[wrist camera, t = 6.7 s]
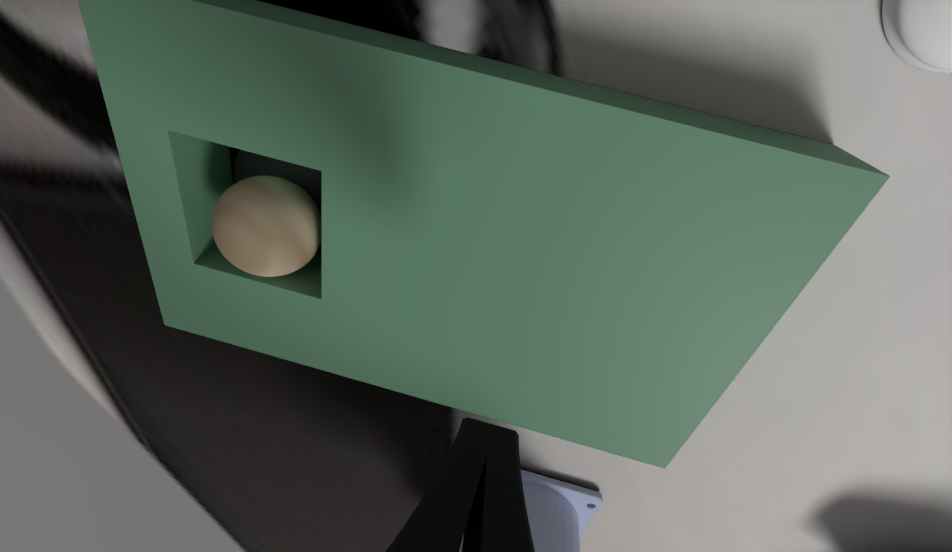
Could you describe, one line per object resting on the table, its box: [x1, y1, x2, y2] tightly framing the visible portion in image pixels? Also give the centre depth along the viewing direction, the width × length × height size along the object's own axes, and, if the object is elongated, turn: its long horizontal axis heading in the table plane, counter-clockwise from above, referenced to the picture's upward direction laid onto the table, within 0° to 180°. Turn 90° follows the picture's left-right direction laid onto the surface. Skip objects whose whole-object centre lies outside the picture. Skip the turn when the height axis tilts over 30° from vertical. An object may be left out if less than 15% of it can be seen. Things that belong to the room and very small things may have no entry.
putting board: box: [78, 0, 890, 468], centre depth 18 cm, size 24×14×3 cm, turn 79°
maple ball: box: [212, 176, 322, 277], centre depth 18 cm, size 4×4×4 cm
